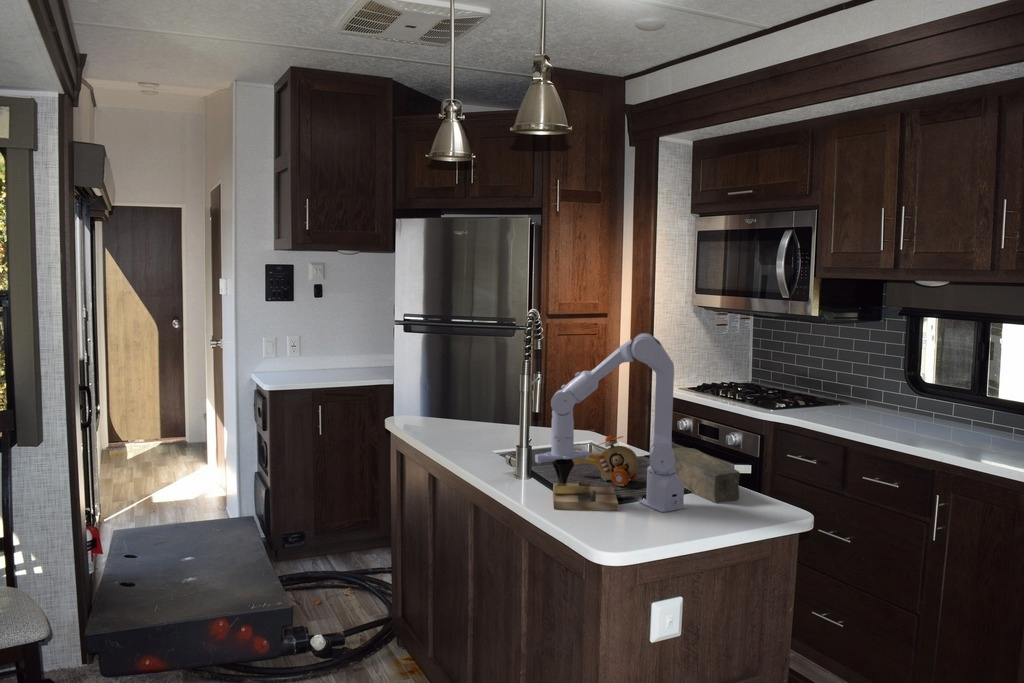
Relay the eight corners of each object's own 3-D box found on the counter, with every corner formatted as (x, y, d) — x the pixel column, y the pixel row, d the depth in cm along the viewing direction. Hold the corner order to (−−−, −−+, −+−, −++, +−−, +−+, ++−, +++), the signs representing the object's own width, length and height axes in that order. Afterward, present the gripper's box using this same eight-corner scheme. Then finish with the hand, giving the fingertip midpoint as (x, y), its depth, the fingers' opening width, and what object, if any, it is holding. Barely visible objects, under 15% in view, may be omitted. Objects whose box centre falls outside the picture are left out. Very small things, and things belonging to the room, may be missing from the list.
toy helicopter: (630, 489, 225) (631, 440, 224) (562, 478, 236) (563, 431, 234) (641, 482, 232) (642, 434, 231) (574, 471, 243) (575, 425, 241)
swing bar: (589, 490, 215) (589, 480, 215) (591, 493, 212) (591, 483, 212) (553, 490, 215) (553, 480, 214) (554, 493, 211) (554, 484, 211)
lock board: (613, 494, 220) (613, 477, 220) (617, 510, 207) (618, 492, 206) (553, 492, 221) (553, 476, 221) (553, 509, 207) (554, 491, 207)
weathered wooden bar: (683, 477, 241) (688, 443, 240) (742, 506, 217) (748, 470, 216) (653, 477, 237) (658, 443, 236) (710, 507, 213) (716, 469, 212)
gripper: (542, 441, 208) (542, 494, 209) (594, 437, 213) (593, 488, 214) (532, 435, 214) (531, 486, 216) (582, 431, 219) (582, 481, 221)
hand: (561, 487), depth 216 cm, fingers closed, pressing on swing bar
